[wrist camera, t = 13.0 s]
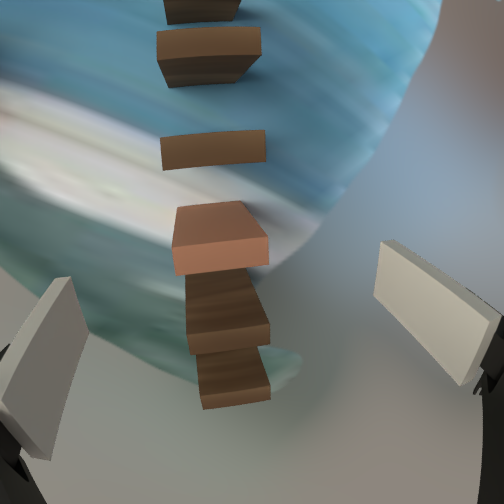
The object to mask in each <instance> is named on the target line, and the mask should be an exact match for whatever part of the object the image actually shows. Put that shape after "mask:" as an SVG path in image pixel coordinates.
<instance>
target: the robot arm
mask: <svg viewBox="0 0 504 504" xmlns="http://www.w3.org/2000/svg"><path fill="white" fill-rule="evenodd" d="M373 296H374V297H375V298H376V299H377V300H378V301H379V302H380V303H381V304H382V305H383V306H384V307H385V308H386V309H387V310H388V311H389V312H390V313H392V315H393V316H394V317H395V318H396V319H397V320H398V321H399V322H400V323H401V324H402V325H403V326H404V327H405V328H406V329H407V330H408V331H409V332H410V333H411V334H412V335H413V336H414V337H415V339H417V341H418V342H419V343H420V344H421V345H422V346H423V347H424V348H425V349H426V350H427V351H428V352H429V353H430V354H431V356H432V357H433V358H434V359H435V360H436V361H437V362H438V363H439V364H440V365H441V366H442V367H443V368H444V370H445V371H446V372H447V373H448V374H449V375H450V376H451V377H452V378H453V380H454V381H455V382H456V383H457V384H458V385H459V386H462V385H464V384H465V383H467V382H469V381H471V380H472V379H473V378H474V377H475V375H476V373H477V371H478V368H479V367H481V368H482V369H483V370H484V372H483V374H482V376H481V378H480V380H479V382H478V383H477V385H476V387H475V389H474V391H473V394H474V395H475V394H476V393H477V391H478V389H479V388H480V387H482V390H481V392H480V393H479V395H482V404H483V448H482V465H481V466H482V467H481V477H480V487H479V495H478V502H477V504H504V316H503V315H502V314H500V313H499V312H498V311H497V310H495V309H494V308H493V307H491V306H490V305H489V304H487V303H486V302H485V301H483V300H482V299H481V298H479V297H478V296H476V295H475V294H474V293H473V292H471V291H470V290H468V289H467V288H465V287H463V286H462V285H461V284H459V283H458V282H456V281H455V280H454V279H452V278H451V277H449V276H448V275H446V274H445V273H444V272H442V271H441V270H439V269H438V268H436V267H435V266H433V265H432V264H430V263H429V262H427V261H426V260H424V259H423V258H421V257H420V256H418V255H417V254H415V253H414V252H412V251H411V250H409V249H408V248H406V247H405V246H403V245H401V244H400V243H398V242H397V241H395V240H389V241H381V244H380V252H379V260H378V267H377V274H376V281H375V287H374V293H373ZM88 335H89V331H88V328H87V325H86V323H85V320H84V317H83V314H82V311H81V308H80V305H79V302H78V299H77V296H76V293H75V290H74V286H73V283H72V280H71V277H63V278H55V279H54V281H53V282H52V283H51V285H50V286H49V287H48V289H47V290H46V292H45V293H44V294H43V296H42V297H41V299H40V300H39V301H38V303H37V304H36V306H35V307H34V309H33V310H32V312H31V313H30V315H29V316H28V318H27V319H26V321H25V322H24V324H23V325H22V327H21V329H20V330H19V332H18V333H17V335H16V336H15V338H14V340H13V341H12V343H11V344H8V345H7V346H6V347H5V348H4V349H3V350H2V351H1V352H0V504H47V503H46V501H45V500H44V498H43V496H42V494H41V492H40V491H39V489H38V487H37V485H36V483H35V481H34V480H33V477H32V476H31V474H30V472H29V469H28V467H27V465H26V463H25V461H24V460H23V459H22V457H21V456H20V455H19V454H20V450H21V447H22V448H23V449H24V450H25V451H26V452H27V453H28V454H29V455H30V456H31V457H32V458H37V459H43V460H49V461H51V457H52V453H53V448H54V444H55V440H56V436H57V432H58V428H59V424H60V420H61V417H62V413H63V410H64V406H65V403H66V400H67V396H68V393H69V390H70V387H71V383H72V380H73V377H74V374H75V371H76V368H77V365H78V362H79V359H80V357H81V354H82V351H83V348H84V345H85V343H86V340H87V337H88Z"/></svg>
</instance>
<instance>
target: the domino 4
mask: <svg viewBox="0 0 504 504" xmlns="http://www.w3.org/2000/svg"><path fill="white" fill-rule="evenodd" d="M172 253H173V260H174V266H175V273H176V276H179V275H187V274H196V273H204V272H213V271H221V270H229V269H237V268H245V267H253V266H261V265H269V251H268V236H267V234H266V233H265V232H264V231H263V229H262V228H261V227H260V225H259V224H258V223H257V221H256V220H255V219H254V218H253V216H252V215H251V214H250V212H249V211H248V210H247V208H246V207H245V206H244V205H243V203H242V202H241V201H230V202H220V203H210V204H201V205H192V206H183V207H177V213H176V219H175V226H174V233H173V241H172Z"/></svg>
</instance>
